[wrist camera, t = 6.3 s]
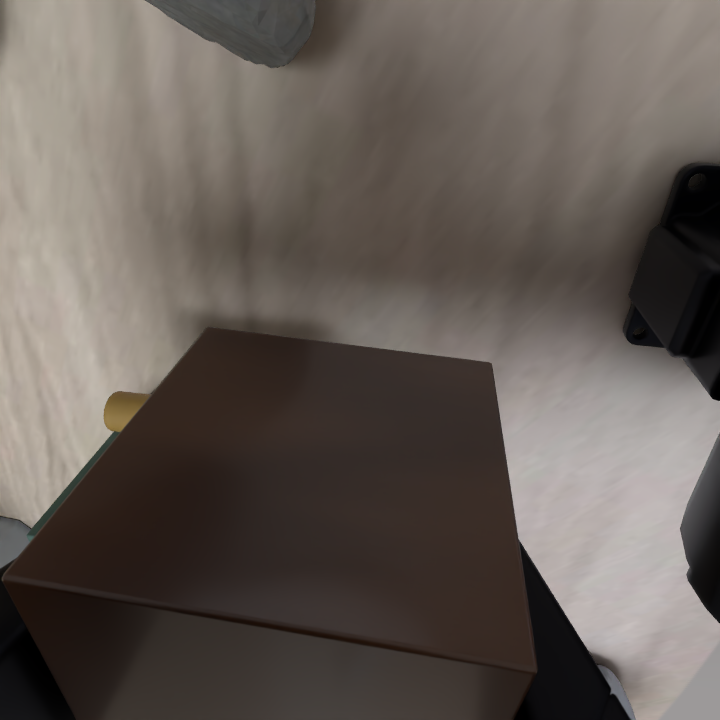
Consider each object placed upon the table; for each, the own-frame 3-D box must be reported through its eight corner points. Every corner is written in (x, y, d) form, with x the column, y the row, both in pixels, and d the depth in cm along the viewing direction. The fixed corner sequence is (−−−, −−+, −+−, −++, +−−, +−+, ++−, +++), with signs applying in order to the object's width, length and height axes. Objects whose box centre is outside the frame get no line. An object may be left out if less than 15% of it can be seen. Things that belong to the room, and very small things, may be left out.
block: (492, 361, 8) (540, 673, 4) (446, 549, 11) (448, 853, 7) (206, 325, 9) (-5, 577, 5) (228, 515, 12) (107, 783, 7)
